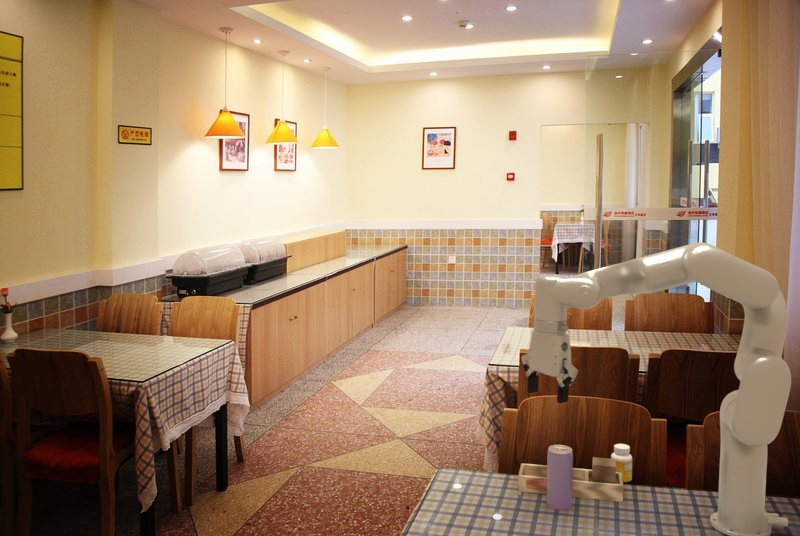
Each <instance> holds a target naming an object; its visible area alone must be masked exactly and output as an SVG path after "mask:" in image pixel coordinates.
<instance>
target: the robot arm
mask: <svg viewBox="0 0 800 536" xmlns="http://www.w3.org/2000/svg"><path fill="white" fill-rule="evenodd" d="M694 283H698V284H700V285H701V286H704V287H706V288H708V289H709V290H711V291H713V292H715V293H718V294H720V295H722V296H724V297H726V298H728V299H731V300H733V301H735V302H736V303H739V304H741V305H742V308H743V312H744V320H743V321H744V322H743V327H742V333H741V336H740V337H741V338H740V341H739V346H738V350H737V353H736V357H735V359H734V364H733V370H734V374H735V376H736V378H737V379H738V380H739V381H740V382H739V386H738V389H736V390H733V391H731V392H729V393H728V394H726V395H725V397H724V398H723V399H722V401H721V404H720V409H719V425H720V428H719V429H720V450H719V451H720V454H719V455H720V457H719V476H718V477H719V478H718V493H717V494H718V495H717V496H718V497H717V498H718V500H717V501H718V502H717V511H716V512H714V513H711V515H710V516H709V523H710V525H711V527H713V529H715V530H716V531H718V532H720V533H722V534H724V535H726V536H771V535H772V527H773V526H778V527H786V528H787V527H788V526H789V520H788V517H782V516H780V515H779V513H775V512H773V513H771V512H768V511H767V510H766V508H765V506H766V503H765V502H766V487H767V486H766V485H767V466H768V445H770V444H771V443H772V442H774V440H775V439H776V438H777V436H778V435H779V433H780V430H781V427H782V424H783V420H784V416H785V412H786V408H787V404H788V400H789V396H790V392H791V391H790V390H791V387H792V374H791V370H790V367H789V365H788V364H787V362H786V361H785V360H784V359H783V358H782V357H783V350H784V346H785V341H786V335H787V330H788V325H789V324H788V323H789V312H788V311H789V310H788V306H787V302H786V300H785V299H786V298H784V297H785V296H784V294H783V293H782V291H781V289H780V285H779V282H778V280H777V278H776V277H775V275H774V274H772V273H771V272H770V271H768V270H766V269H764V268H761V267H759V266H757V265H755V264H752V263H751V262H748V261H746V260H744V259H742V258H739V257H738V256H735V255H733V254H731V253H729V252H727V251H725V250H723V249H722V248H719V247H718V246H716V245H713V244H710V243H708V242H702V241H701V242H699V241H698V242H693V243H690V244H686V245H683V246H682V245H681V246H679V247H675V248H672V249H667V250H665V251H664V250H663V251H661V252H657V253H653V254H649V255H644V256H641V257H637V258H634V259H630V260H627V261H624V262H619V263H615V264H611V265H608V266H603V267H600V268H596V269H592V270H587V271H585V272H584V271H583V272H582V273H578V274H577V275H576V276H574V277H569V278H568V277H566V276H564V275H560V274H541V275H538V276H537V277H536V280H535V287H534V288H535V290H534V319H533V321H534V322H533V330H532V333H531V336H530V342H529V350H528V353H526V354H523V355H522V356H521V357H520V358H521V361H522V366H523V369H524V371H525V376H526V377H527V389H526V390H527V391H526V392H527V393H528V394H534V393H537V392H538V391H539V382H540V381H539V380H540V379H539V378H540V377H539V375H538V373H540V374H543V375H546V376H548V377H553V378H556V380H557V382H558V386H557V390H556V391H557V392H556V402H557V403H558V404H563V403H567V402H569V394H570V393H569V391H570V388H569V387H570V386H572V383H573V382H574V381H576V378H577V376H578V374H579V369H578V368H576V367H575V366H574V365H573V364H572V351H571V348H572V347H571V341H570V335H569V334H568V333H567V332H568V331H569V325H568V324H567V317H568V316H567V315H568V307H569V308H575V309H577V310H578V309H579V310H590V309H593V308H594V307H596V306H598V305H599V303H600V301H601V300H604V299H608V298H612V297H616V296H621V295H628V294H640V295H646V294H654V293H657V292H661V291H666V290H669V289H672V288H673V289H674V288H677V287H680V286H684V285H685V286H686V285H690V284H694Z"/></svg>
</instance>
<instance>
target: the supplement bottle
mask: <svg viewBox="0 0 800 536" xmlns="http://www.w3.org/2000/svg"><path fill="white" fill-rule="evenodd" d="M630 452H631V447H630V445H628V444H625V443H616V444H614V445H613V452H612V453H611V455H610V459H615V463H616V472H621V473H622V480H623V483H627V482H628V483H629V482H631V481H632V479H633V456H632V454H630Z"/></svg>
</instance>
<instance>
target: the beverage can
mask: <svg viewBox="0 0 800 536" xmlns="http://www.w3.org/2000/svg"><path fill="white" fill-rule="evenodd" d="M546 459H547V460H546V461H547V462H546V463H547V464H546V466H547V494H546V506H547V507H548V508H550V509H552V510H557V511H567V510H569V509H572V507H573V497H572V473H573V468H574V466H573V465H574V453H573V448H572V447H570V446H568V445H566V444H565V445H563V444H553V445H550V446H548V450H547V458H546Z"/></svg>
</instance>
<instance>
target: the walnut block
mask: <svg viewBox="0 0 800 536" xmlns="http://www.w3.org/2000/svg"><path fill="white" fill-rule="evenodd" d="M591 467H592V469H591V470H592V482H599V483H610V484H616V463H615V459H611V458H607V457H596V456H592V466H591Z"/></svg>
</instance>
